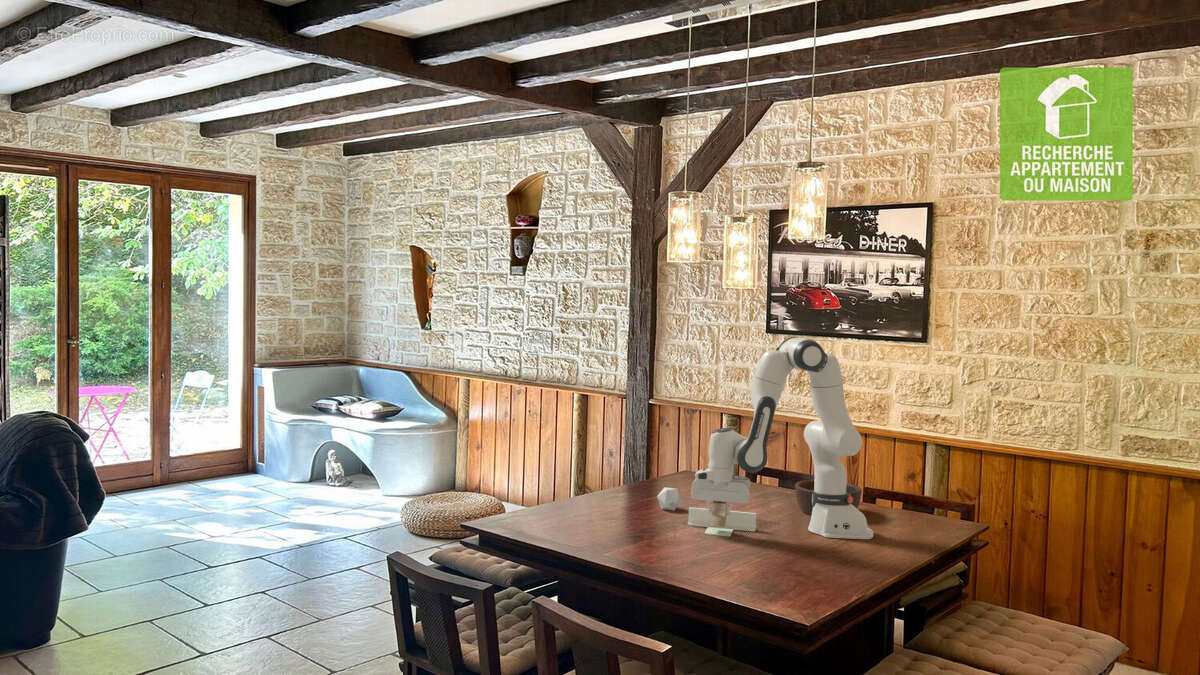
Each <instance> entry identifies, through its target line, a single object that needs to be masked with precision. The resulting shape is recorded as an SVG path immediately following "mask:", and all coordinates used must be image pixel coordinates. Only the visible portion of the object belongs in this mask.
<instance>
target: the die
mask: <svg viewBox="0 0 1200 675" xmlns="http://www.w3.org/2000/svg"><path fill="white" fill-rule="evenodd" d="M656 498H657V502H658V503H659V506H660V510H665V511H675V510H676V509H678V507H679V506H680V505H681V503H682V497H681V494H680V492H679V489H678V488H674V487H667V486H666V487H663V489H662V490H661V491H660V492H659V493H658V495H657V496H656Z"/></svg>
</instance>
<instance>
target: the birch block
mask: <svg viewBox="0 0 1200 675" xmlns="http://www.w3.org/2000/svg"><path fill="white" fill-rule="evenodd" d="M711 507H712V526H720V527H725V525H726V514H725V513H726V509H728V508H727V507H728V502H720V501H712V505H711Z"/></svg>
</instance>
